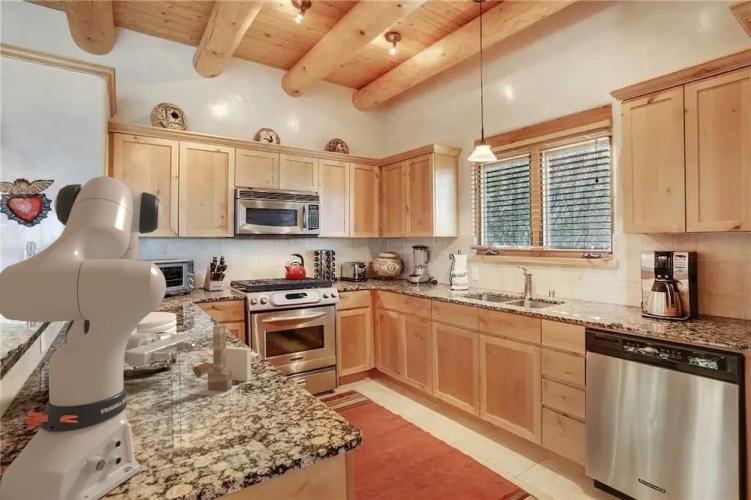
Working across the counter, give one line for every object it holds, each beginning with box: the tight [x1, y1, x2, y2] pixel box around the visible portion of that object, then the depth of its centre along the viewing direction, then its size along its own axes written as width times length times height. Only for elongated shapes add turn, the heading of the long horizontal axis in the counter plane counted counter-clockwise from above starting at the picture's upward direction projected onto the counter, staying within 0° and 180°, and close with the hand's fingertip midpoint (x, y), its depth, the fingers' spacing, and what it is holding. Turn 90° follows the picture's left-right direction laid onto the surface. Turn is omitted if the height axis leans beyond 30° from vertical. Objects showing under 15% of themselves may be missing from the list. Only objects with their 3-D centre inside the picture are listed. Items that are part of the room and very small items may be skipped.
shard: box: [192, 362, 213, 377], centre depth 130 cm, size 11×8×2 cm
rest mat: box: [184, 382, 240, 397], centre depth 113 cm, size 8×12×1 cm, turn 76°
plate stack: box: [137, 311, 178, 334], centre depth 164 cm, size 28×28×12 cm
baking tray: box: [123, 353, 179, 377], centre depth 136 cm, size 30×22×5 cm
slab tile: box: [226, 346, 252, 383], centre depth 121 cm, size 2×8×10 cm, turn 76°
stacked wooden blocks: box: [207, 324, 233, 392], centre depth 113 cm, size 2×6×18 cm, turn 76°
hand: (183, 351), depth 116 cm, fingers open, 8 cm apart
